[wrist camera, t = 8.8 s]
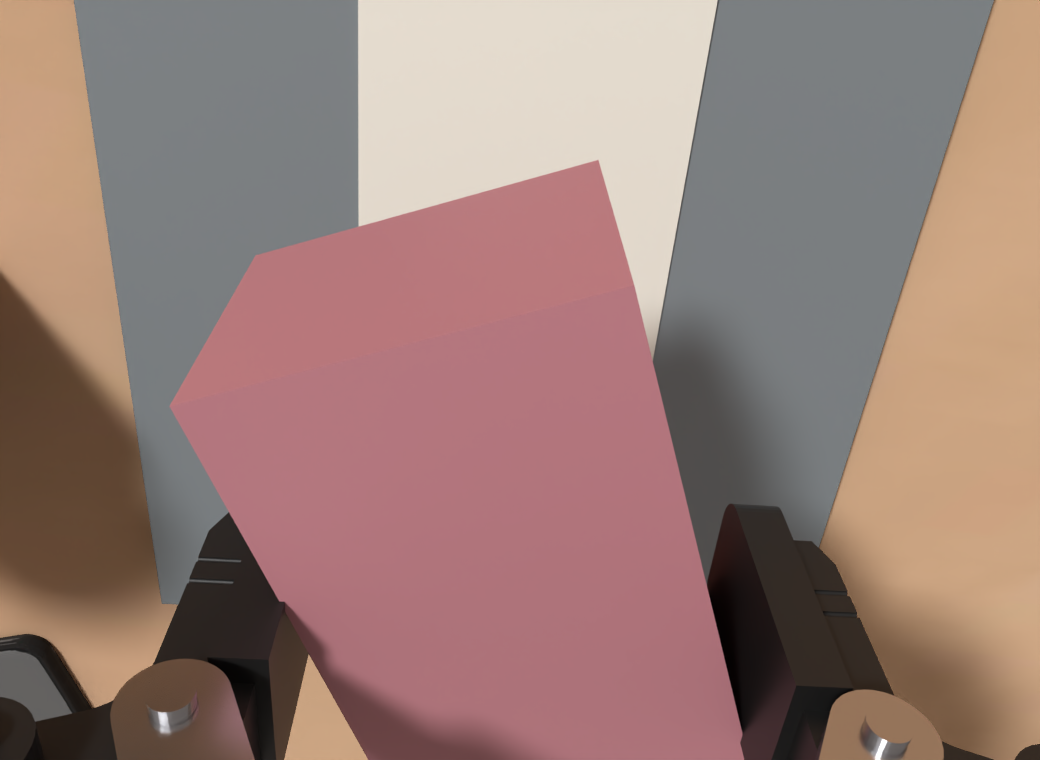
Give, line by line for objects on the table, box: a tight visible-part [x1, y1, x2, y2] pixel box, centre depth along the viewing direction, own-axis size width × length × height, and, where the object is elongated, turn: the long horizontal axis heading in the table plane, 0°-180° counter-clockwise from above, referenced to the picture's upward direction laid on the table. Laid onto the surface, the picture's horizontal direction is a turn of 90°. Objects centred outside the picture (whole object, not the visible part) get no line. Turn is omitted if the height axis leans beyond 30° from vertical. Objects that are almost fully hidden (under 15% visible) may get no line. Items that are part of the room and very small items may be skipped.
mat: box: [74, 0, 994, 604], centre depth 22 cm, size 18×20×1 cm
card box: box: [170, 160, 744, 760], centre depth 14 cm, size 10×5×4 cm, turn 16°
